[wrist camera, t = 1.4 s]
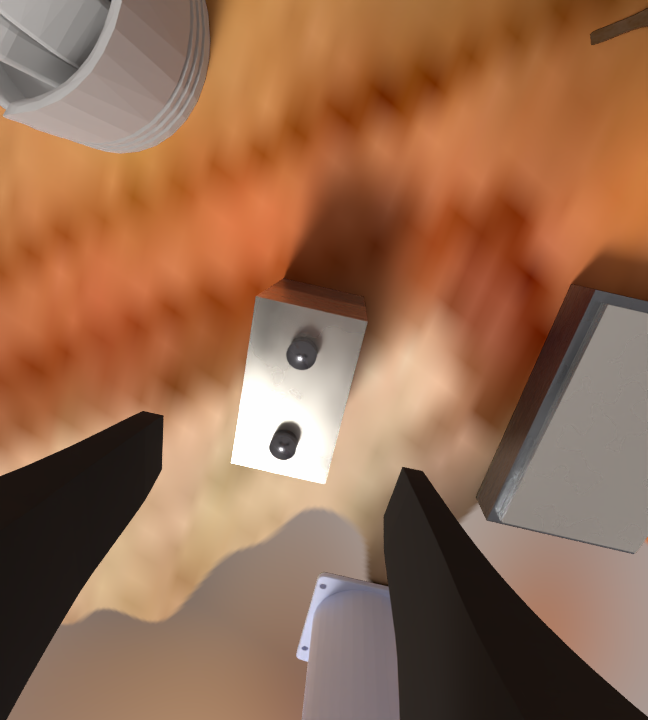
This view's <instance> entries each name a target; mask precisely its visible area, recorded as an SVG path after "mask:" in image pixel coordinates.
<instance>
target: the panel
mask: <svg viewBox="0 0 648 720" xmlns="http://www.w3.org/2000/svg"><path fill="white" fill-rule="evenodd" d="M476 498H477V501H478V503H479V505H480V507H481V509H482V511H483V514H484V516H485V518H486V520H487V521H492V522H496V523H500V524H505V525H509V526H513V527H518V528H522V529H526V530H531V531H535V532H539V533H544V534H548V535H553V536H557V537H561V538H566V539H570V540H574V541H579V542H583V543H588V544H592V545H596V546H600V547H605V548H609V549H614V550H618V551H622V552H627V553H631V554H634V553H637V551H638V550H639V548H640V547H641V545H642V544H643V542H644V541H645V540H646V538H647V537H648V301H643V300H639V299H635V298H630V297H626V296H621V295H617V294H613V293H608V292H604V291H599V290H595V289H591V288H586V287H582V286H577V285H573V284H571V286H570V288H569V290H568V293H567V295H566V297H565V299H564V302H563V304H562V306H561V308H560V311H559V313H558V315H557V317H556V320H555V322H554V324H553V326H552V328H551V331H550V333H549V335H548V337H547V340H546V342H545V344H544V346H543V349H542V351H541V353H540V355H539V358H538V360H537V362H536V364H535V366H534V369H533V371H532V373H531V375H530V378H529V380H528V382H527V384H526V387H525V389H524V391H523V393H522V396H521V398H520V400H519V402H518V404H517V407H516V409H515V411H514V413H513V416H512V418H511V420H510V422H509V425H508V427H507V429H506V431H505V434H504V436H503V438H502V440H501V442H500V445H499V447H498V449H497V451H496V454H495V456H494V458H493V460H492V463H491V465H490V467H489V469H488V472H487V474H486V476H485V478H484V481H483V483H482V485H481V487H480V489H479V492H478V494H477V496H476Z"/></svg>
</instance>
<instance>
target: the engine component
mask: <svg viewBox="0 0 648 720" xmlns="http://www.w3.org/2000/svg"><path fill="white" fill-rule="evenodd" d="M209 53H210V30H209V17H208V10H207V6H206V2H205V0H0V106H2V107H3V108H4V109H6V111H5V113H4V115H3V117H5V118H8V119H11V120H14V121H17V122H20V123H22V124H25V125H28V126H30V127H32V128H34V129H36V130H39V131H42V132H45V133H49V134H52V135H55V136H58V137H61V138H65V139H68V140H71V141H74V142H77V143H80V144H83V145H86V146H89V147H91V148H95V149H99V150H102V151H106V152H113V153H130V152H139V151H142V150H145V149H148V148H151V147H154V146H156V145H158V144H160V143H161V142H163V141H164V140H166V139H167V138H169V137H170V136H172V135H173V134H174V133H175V132H176V131H177V130H178V129H179V127H180V126H181V125H182V124H183V123H184V122H185V121H186V120H187V118H188V117H189V115H190V113H191V112H192V110H193V108H194V107H195V105H196V103H197V102H198V99H199V96H200V93H201V90H202V88H203V85H204V82H205V79H206V74H207V68H208V63H209Z"/></svg>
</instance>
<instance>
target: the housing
mask: <svg viewBox="0 0 648 720" xmlns="http://www.w3.org/2000/svg"><path fill="white" fill-rule="evenodd" d="M367 322H368V321H367V314H366V308H365V301H364V297H363V296H359V295H355V294H350V293H346V292H342V291H337V290H333V289H328V288H324V287H320V286H315V285H311V284H306V283H302V282H298V281H293V280H289V279H285V278H283V279H282V280H280V281H279V282H277V283H276V284H274V285H273V286H271V287H269V288H268V289H266V290H265V291H263V292H262V293H260V294H259V295H257V296H256V300H255V307H254V314H253V321H252V327H251V334H250V341H249V348H248V354H247V361H246V368H245V375H244V382H243V388H242V395H241V402H240V409H239V415H238V422H237V429H236V436H235V443H234V449H233V456H232V463H234V464H239V465H243V466H248V467H252V468H256V469H261V470H265V471H269V472H274V473H278V474H283V475H287V476H291V477H296V478H300V479H304V480H309V481H313V482H318V483H322V484H325V482H326V479H327V475H328V471H329V467H330V463H331V460H332V456H333V452H334V448H335V444H336V440H337V437H338V433H339V429H340V425H341V421H342V418H343V414H344V410H345V406H346V402H347V399H348V395H349V391H350V387H351V383H352V379H353V376H354V372H355V368H356V364H357V360H358V357H359V353H360V349H361V345H362V341H363V338H364V334H365V330H366V326H367Z"/></svg>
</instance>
